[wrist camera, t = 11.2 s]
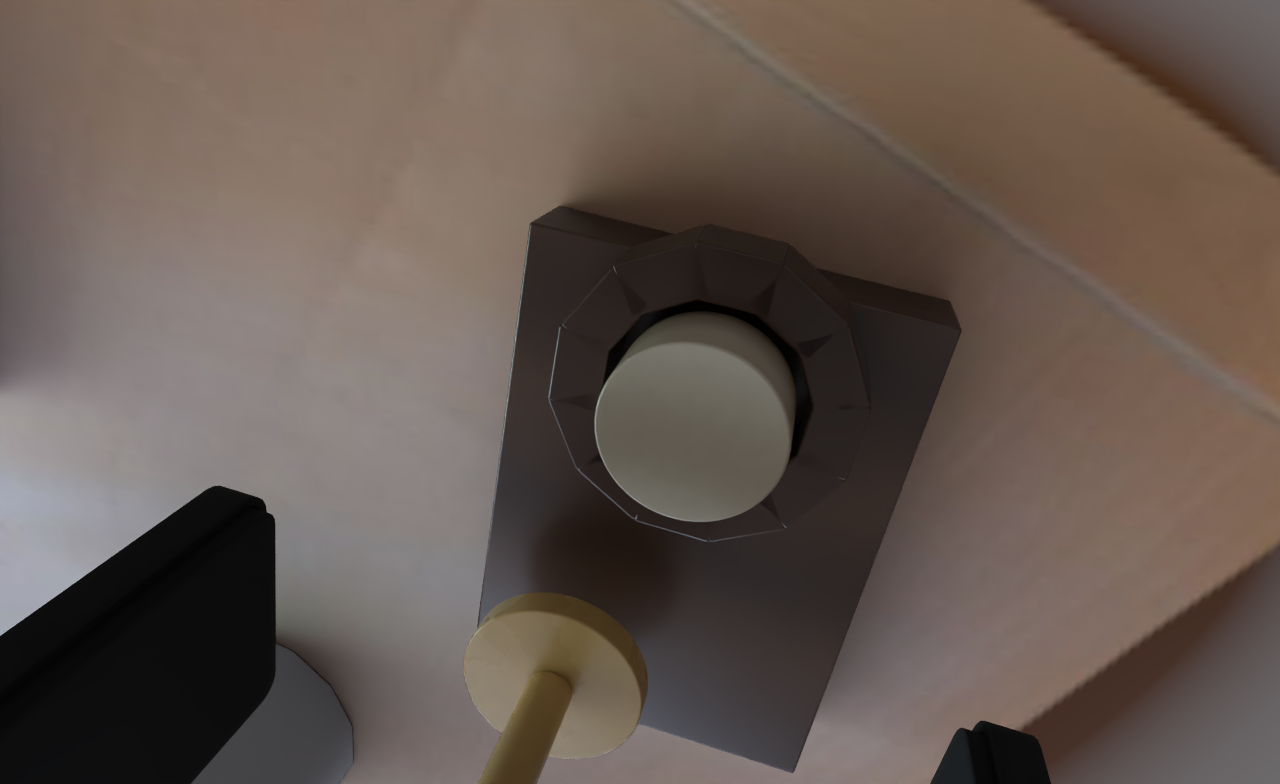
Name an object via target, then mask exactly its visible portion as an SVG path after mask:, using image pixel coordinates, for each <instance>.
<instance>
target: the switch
mask: <svg viewBox="0 0 1280 784" xmlns="http://www.w3.org/2000/svg"><path fill="white" fill-rule="evenodd" d="M796 402H797V397H796V387H795V382H794V378H793V375H792V372H791V370H790V367H789V365H788V363H787V361H786V359H785V357H784V356H783V354H782V353H781V352H780V350H779V349H778V347H777V346H776V345H775V344H774V343H773V342H772V341H771V340H770V339H769V338H768V337H767V336H766V335H765V334H763V333H762V332H761V331H760V330H758V329H757V328H755V327H754V326H752V325H750V324H749V323H747V322H745V321H743V320H740V319H738V318H736V317H733V316H729V315H726V314H722V313H716V312H707V311H696V312H686V313H681V314H676V315H674V316H671V317H668V318H665V319H663V320H661V321H659V322H657V323H655V324H654V325H652V326H651V327H649V328H648V329H646V330H645V331H644V332H643V333H642V334H641V335H640V336H639V337H638V338H637V339H636V340H635V341H634V343H633V344H632V345H631V346H630V348H629V349H628V351H627V352H626V354H625V355H624V357H623V358H622V359H621V361H620V362H619V364H618V365H617V367H616V368H615V370H614V371H613V372H612V374H611V375H610V377H609V378H608V380H607V382H606V383H605V385H604V387H603V389H602V391H601V393H600V396H599V398H598V402H597V406H596V410H595V419H594V426H595V437H596V443H597V446H598V450H599V453H600V456H601V458H602V460H603V462H604V465H605V467H606V468H607V470H608V471H609V473H610V475H611V476H612V478H613V479H614V480H615V481H616V483H617V484H618V485H619V486H620V487H621V488H622V489H623V490H624V491H625V492H626V493H627V494H628V495H629V496H630V497H632V498H633V499H634V500H636V501H637V502H638V503H640V504H642V505H643V506H645V507H646V508H648V509H650V510H652V511H654V512H657V513H659V514H661V515H664V516H667V517H670V518H674V519H679V520H684V521H692V522H709V521H717V520H722V519H726V518H731V517H733V516H736V515H738V514H741V513H743V512H745V511H747V510H749V509H751V508H752V507H754V506H755V505H757V504H758V503H760V502H761V501H762V500H763V499H764V498H765V497H767V496H768V495H769V494H770V493H771V492H772V490H773V489H774V488H775V486H776V485H777V484H778V483H779V481H780V479H781V477H782V476H783V474H784V472H785V469H786V466H787V464H788V461H789V456H790V452H791V445H792V437H793V429H794V422H795V414H796Z"/></svg>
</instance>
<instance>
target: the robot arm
mask: <svg viewBox="0 0 1280 784" xmlns="http://www.w3.org/2000/svg"><path fill="white" fill-rule="evenodd" d="M275 673H276V587H275V519H274V517H273V515H271V514H269V513H267V511H266V505H265V503H264V501H263V500H262V499H260V498H258V497H255V496H252V495H248V494H245V493H242V492H239V491H235V490H232V489H229V488H226V487H222V486H213V487H211V488H209V489H207V490H205V491H204V492H202V493H201V494H200V495H198V496H197V497H195V498H194V499H193V500H191V501H190V502H188V503H187V504H186V505H184V506H183V507H181V508H180V509H179V510H177V511H176V512H174V513H173V514H171V515H170V516H169V517H167V518H166V519H164V520H163V521H162V522H160V523H159V524H157V525H156V526H155V527H153V528H152V529H150V530H149V531H148V532H146V533H145V534H143V535H142V536H140V537H139V538H138V539H136V540H135V541H133V542H132V543H131V544H129V545H128V546H126V547H125V548H124V549H122V550H121V551H119V552H118V553H117V554H115V555H114V556H112V557H111V558H109V559H108V560H107V561H105V562H104V563H102V564H101V565H100V566H98V567H97V568H95V569H94V570H93V571H91V572H90V573H88V574H87V575H86V576H84V577H83V578H81V579H80V580H78V581H77V582H76V583H74V584H73V585H71V586H70V587H69V588H67V589H66V590H64V591H63V592H62V593H60V594H59V595H57V596H56V597H55V598H53V599H52V600H50V601H49V602H47V603H46V604H45V605H43V606H42V607H40V608H39V609H38V610H36V611H35V612H33V613H32V614H31V615H29V616H28V617H26V618H25V619H24V620H22V621H21V622H19V623H18V624H16V625H15V626H14V627H12V628H11V629H9V630H8V631H7V632H5V633H4V634H2V635H1V636H0V784H191V783H192V782H193V781H194V780H195V779H196V777H197V776H198V775H199V774H200V773H201V772H202V771H203V769H204V768H205V767H206V766H207V765H208V764H209V763H210V761H211V760H212V759H213V758H214V757H215V756H216V755H217V753H218V752H219V751H220V750H221V749H222V748H223V747H224V745H225V744H226V743H227V742H228V741H229V740H230V739H231V737H232V736H233V735H234V734H235V733H236V732H237V731H238V729H239V728H240V727H241V726H242V725H243V724H244V723H245V721H246V720H247V719H248V718H249V717H250V716H251V715H252V713H253V712H254V711H255V710H256V709H257V708H258V707H259V705H260V704H261V703H262V702H263V701H264V699H265V698H266V696H267V695H268V693H269V691H270V689H271V687H272V684H273V682H274V678H275ZM930 784H1051V782H1050V778H1049V775H1048V771H1047V768H1046V764H1045V761H1044V757H1043V753H1042V749H1041V747H1040V744H1039V742H1038V740H1037V739H1036V738H1035V737H1034V736H1032V735H1029V734H1026V733H1022V732H1019V731H1016V730H1013V729H1009V728H1006V727H1003V726H1000V725H996V724H993V723H990V722H987V721H980V722H979V723H977V724H976V725H975V727H974V729H973V730H972V731H971V730H967V729H964V728H960V729H958V730H957V732H956V733H955V735H954V737H953V739H952V741H951V743H950V745H949V747H948V749H947V751H946V753H945V755H944V757H943V759H942V761H941V763H940V765H939V767H938V769H937V771H936V773H935V775H934V777H933V779H932V781H931V783H930Z"/></svg>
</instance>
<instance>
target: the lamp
mask: <svg viewBox="0 0 1280 784" xmlns="http://www.w3.org/2000/svg"><path fill="white" fill-rule="evenodd" d="M464 678H465V682H466V686H467V689H468V691H469V694H470V696H471V698H472V700H473V702H474V704H475V705H476V707H477V708H478V710H479V711H480V713H481V714H482V715H483V716H484V718H485V719H486V720H487V721H488V722H489V723H490V724H491V725H492V726H493V727H494V728H495V729H496V730H498V731H499V732H500V733H501V734H502V735H501V737H500V739H499V741H498V743H497V745H496V747H495V749H494V751H493V753H492V755H491V757H490V759H489V761H488V763H487V765H486V767H485V769H484V772H483V774H482V776H481V778H480V780H479V782H478V784H537V782H538V779H539V777H540V774H541V772H542V769H543V767H544V765H545V762H546V760H547V757H548V756H550V757H556V758H563V759H585V758H592V757H596V756H600V755H603V754H605V753H608V752H610V751H612V750H614V749H615V748H617V747H619V746H620V745H621V744H622V743H624V742H625V741H626V740H627V739H628V738H629V737H630V735H631V734H632V733H633V732H634V730H635V728H636V726H637V725H638V722H639V719H640V716H641V713H642V710H643V707H644V703H645V700H646V697H647V691H648V674H647V668H646V665H645V661H644V658H643V656H642V654H641V652H640V649H639V647H638V646H637V644H636V643H635V641H634V640H633V638H632V637H631V636H630V634H629V633H628V632H627V631H626V630H625V628H623V627H622V626H621V625H620V624H619V623H618V622H617V621H616V620H615V619H614V618H612V617H611V616H610V615H608V614H607V613H606V612H604V611H602V610H601V609H599V608H598V607H596V606H594V605H592V604H590V603H588V602H586V601H583V600H580V599H577V598H575V597H571V596H567V595H563V594H557V593H550V592H535V593H526V594H522V595H517V596H515V597H512V598H509V599H507V600H505V601H503V602H501V603H500V604H498V605H497V606H495V607H494V608H493V609H492V610H490V612H489V613H488V614H487V615H486V616H485V617H484V619H483V620H482V622H481V623H480V625H479V627H478V628H477V630H476V632H475V633H474V635H473V636H472V638H471V640H470V641H469V643H468V646H467V648H466V652H465V656H464Z"/></svg>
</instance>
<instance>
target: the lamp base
mask: <svg viewBox="0 0 1280 784" xmlns="http://www.w3.org/2000/svg"><path fill="white" fill-rule="evenodd" d="M696 311H707V312H716V313H722V314H726V315H729V316H733V317H736V318H738V319H740V320H743V321H745V322H747V323H749V324H750V325H752V326H754V327H755V328H757V329H758V330H760V331H761V332H762V333H763V334H765V335H766V336H767V337H768V338H769V339H770V340H771V341H772V342H773V343H774V344H775V345H776V346H777V347H778V349H779V350H780V352H781V353H782V354H783V356H784V357H785V359H786V361H787V363H788V365H789V367H790V370H791V372H792V375H793V378H794V382H795V387H796V397H797V402H796V414H795V422H794V429H793V437H792V445H791V452H790V456H789V461H788V464H787V466H786V469H785V472H784V474H783V476H782V477H781V479H780V481H779V483H778V484H777V485H776V486H775V488H774V489H773V490H772V492H771V493H770V494H769V495H768V496H767V497H765V498H764V499H763V500H762V501H761V502H760V503H758V504H757V505H755V506H754V507H752V508H751V509H749V510H747V511H745V512H743V513H741V514H738V515H736V516H733V517H731V518H726V519H722V520H717V521H709V522H692V521H684V520H679V519H674V518H670V517H667V516H664V515H661V514H659V513H657V512H654V511H652V510H650V509H648V508H646V507H645V506H643V505H642V504H640V503H638V502H637V501H636V500H634V499H633V498H632V497H630V496H629V495H628V494H627V493H626V492H625V491H624V490H623V489H622V488H621V487H620V486H619V485H618V484H617V483H616V481H615V480H614V479H613V478H612V476H611V475H610V473H609V471H608V470H607V468H606V467H605V465H604V462H603V460H602V458H601V456H600V453H599V450H598V446H597V443H596V437H595V426H594V419H595V410H596V406H597V402H598V398H599V396H600V393H601V391H602V389H603V387H604V385H605V383H606V382H607V380H608V378H609V377H610V375H611V374H612V372H613V371H614V370H615V368H616V367H617V365H618V364H619V362H620V361H621V359H622V358H623V357H624V355H625V354H626V352H627V351H628V349H629V348H630V346H631V345H632V344H633V343H634V341H635V340H636V339H637V338H638V337H639V336H640V335H641V334H642V333H643V332H644V331H645V330H646V329H648V328H649V327H651V326H652V325H654V324H655V323H657V322H659V321H661V320H663V319H665V318H668V317H671V316H674V315H676V314H681V313H686V312H696ZM961 332H962V329H961V327H960V324H959V322H958V319H957V317H956V314H955V312H954V309H953V307H952V304H951V302H950V301H948V300H944V299H940V298H936V297H932V296H928V295H924V294H920V293H915V292H911V291H907V290H903V289H899V288H895V287H891V286H887V285H883V284H878V283H874V282H870V281H866V280H862V279H858V278H854V277H850V276H846V275H841V274H837V273H833V272H829V271H825V270H821V269H817V268H815V267H814V266H813V265H812V264H811V263H810V262H809V261H808V260H807V259H806V258H804V257H803V256H802V255H801V254H800V253H799V252H798V251H797V250H796V249H795V248H794V247H793V246H789V243H786V242H782V241H778V240H774V239H770V238H766V237H761V236H757V235H753V234H749V233H745V232H741V231H736V230H732V229H728V228H724V227H720V226H716V225H712V224H708V225H707V224H705V225H702V226H698V227H695V228H692V229H688V230H685V231H682V232H678V233H675V234H673V233H669V232H665V231H661V230H657V229H653V228H648V227H644V226H640V225H636V224H632V223H628V222H624V221H620V220H616V219H612V218H607V217H603V216H599V215H595V214H591V213H587V212H583V211H579V210H575V209H570V208H566V207H562V206H558V207H556V208H555V209H553V210H551V211H550V212H548V213H546V214H545V215H543V216H541V217H539V218H538V219H536V220H534V221H533V222H531V223H530V227H529V235H528V242H527V250H526V258H525V265H524V273H523V281H522V288H521V296H520V304H519V311H518V319H517V327H516V334H515V342H514V350H513V357H512V365H511V373H510V380H509V388H508V396H507V403H506V411H505V418H504V426H503V434H502V441H501V449H500V457H499V464H498V472H497V480H496V487H495V495H494V503H493V510H492V518H491V526H490V533H489V541H488V549H487V556H486V564H485V572H484V579H483V587H482V594H481V602H480V610H479V617H478V625H477V628H478V627H479V625H480V623H481V622H482V620H483V619H484V617H485V616H486V615H487V614H488V613H489V612H490V610H492V609H493V608H494V607H495V606H497V605H498V604H500V603H501V602H503V601H505V600H507V599H509V598H512V597H515V596H517V595H522V594H526V593H535V592H550V593H557V594H563V595H567V596H571V597H575V598H577V599H580V600H583V601H586V602H588V603H590V604H592V605H594V606H596V607H598V608H599V609H601V610H602V611H604V612H606V613H607V614H608V615H610V616H611V617H612V618H614V619H615V620H616V621H617V622H618V623H619V624H620V625H621V626H622V627H623V628H625V630H626V631H627V632H628V633H629V634H630V636H631V637H632V638H633V640H634V641H635V643H636V644H637V646H638V647H639V649H640V652H641V654H642V656H643V658H644V661H645V665H646V668H647V674H648V691H647V697H646V700H645V703H644V707H643V710H642V713H641V716H640V719H639V722H638V724H641V725H644V726H648V727H651V728H654V729H657V730H660V731H663V732H666V733H669V734H672V735H676V736H679V737H682V738H685V739H688V740H691V741H694V742H697V743H700V744H703V745H707V746H710V747H713V748H716V749H719V750H722V751H725V752H728V753H731V754H734V755H738V756H741V757H744V758H747V759H750V760H753V761H756V762H759V763H762V764H765V765H769V766H772V767H775V768H778V769H781V770H784V771H787V772H790V773H793V772H794V771H795V768H796V766H797V763H798V760H799V758H800V755H801V752H802V750H803V747H804V745H805V742H806V739H807V737H808V734H809V731H810V729H811V726H812V723H813V721H814V718H815V716H816V713H817V710H818V708H819V705H820V702H821V700H822V697H823V695H824V692H825V689H826V687H827V684H828V681H829V679H830V676H831V673H832V671H833V668H834V666H835V663H836V660H837V658H838V655H839V652H840V650H841V647H842V645H843V642H844V639H845V637H846V634H847V631H848V629H849V626H850V624H851V621H852V618H853V616H854V613H855V610H856V608H857V605H858V602H859V600H860V597H861V595H862V592H863V589H864V587H865V584H866V581H867V579H868V576H869V574H870V571H871V568H872V566H873V563H874V560H875V558H876V555H877V553H878V550H879V547H880V545H881V542H882V539H883V537H884V534H885V531H886V529H887V526H888V524H889V521H890V518H891V516H892V513H893V510H894V508H895V505H896V503H897V500H898V497H899V495H900V492H901V489H902V487H903V484H904V482H905V479H906V476H907V474H908V471H909V468H910V466H911V463H912V460H913V458H914V455H915V453H916V450H917V447H918V445H919V442H920V439H921V437H922V434H923V432H924V429H925V426H926V424H927V421H928V418H929V416H930V413H931V411H932V408H933V405H934V403H935V400H936V397H937V395H938V392H939V389H940V387H941V384H942V382H943V379H944V376H945V374H946V371H947V368H948V366H949V363H950V361H951V358H952V355H953V353H954V350H955V347H956V345H957V342H958V340H959V337H960V334H961Z"/></svg>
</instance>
